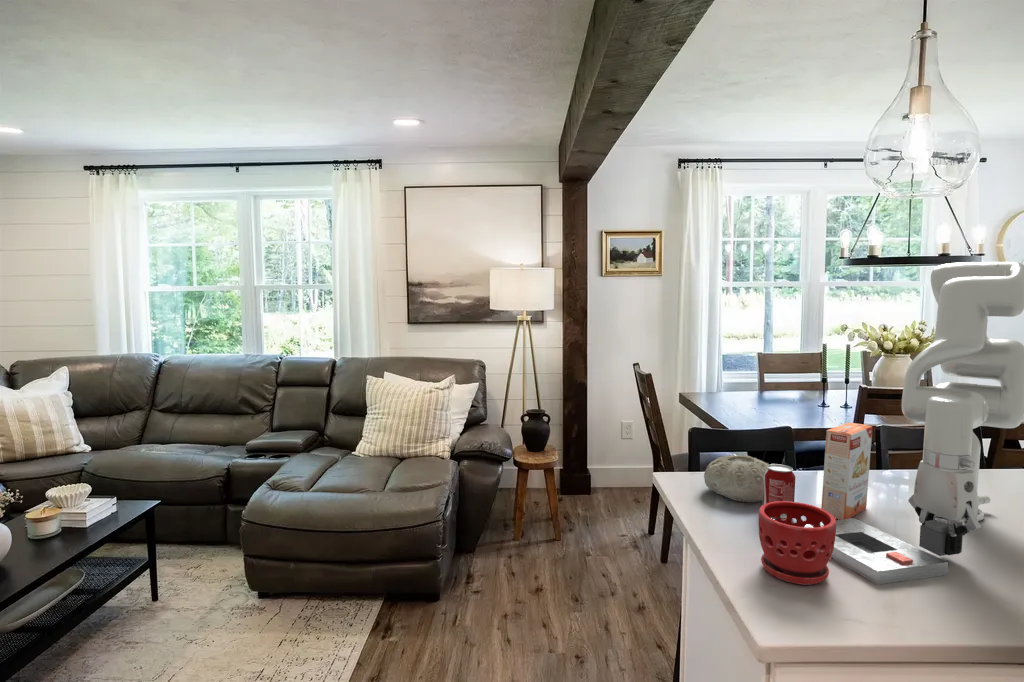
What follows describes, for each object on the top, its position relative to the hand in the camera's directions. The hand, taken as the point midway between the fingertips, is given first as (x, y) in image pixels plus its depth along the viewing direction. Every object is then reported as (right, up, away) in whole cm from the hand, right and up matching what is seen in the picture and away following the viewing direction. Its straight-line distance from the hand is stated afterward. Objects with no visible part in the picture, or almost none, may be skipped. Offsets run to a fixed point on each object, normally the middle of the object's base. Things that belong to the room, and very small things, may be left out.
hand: (940, 547), depth 118 cm
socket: (-14, -2, +2) cm, 14 cm away
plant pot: (-32, -3, -6) cm, 33 cm away
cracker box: (-5, -1, +25) cm, 26 cm away
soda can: (-23, -1, +22) cm, 31 cm away
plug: (0, 0, 0) cm, 0 cm away
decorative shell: (-26, 0, +36) cm, 45 cm away
